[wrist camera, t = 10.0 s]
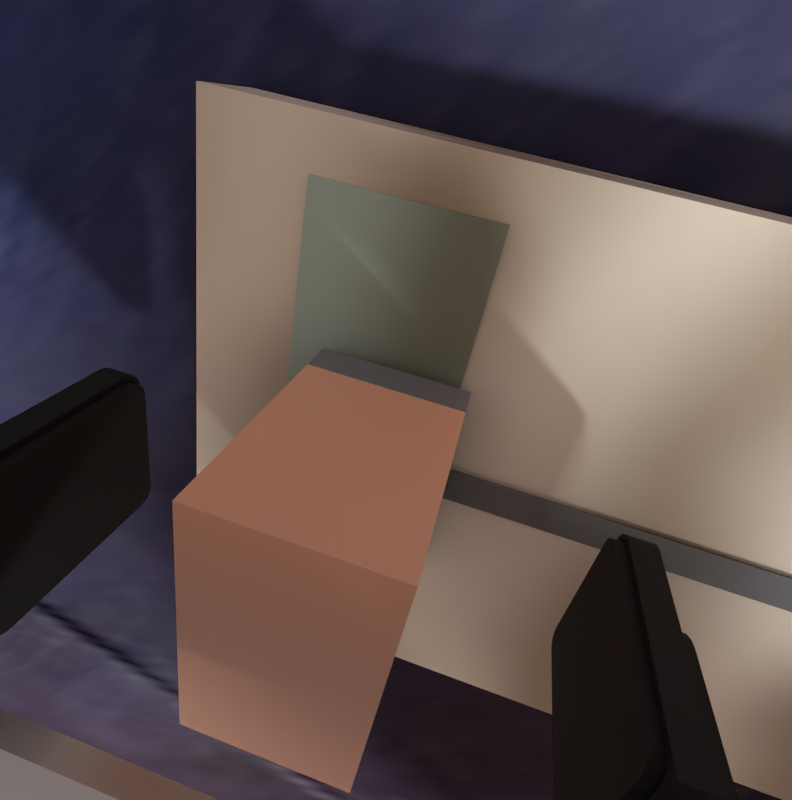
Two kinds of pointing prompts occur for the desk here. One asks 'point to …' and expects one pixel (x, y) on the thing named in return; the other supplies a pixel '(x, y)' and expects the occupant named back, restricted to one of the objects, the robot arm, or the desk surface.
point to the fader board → (526, 378)
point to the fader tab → (309, 561)
